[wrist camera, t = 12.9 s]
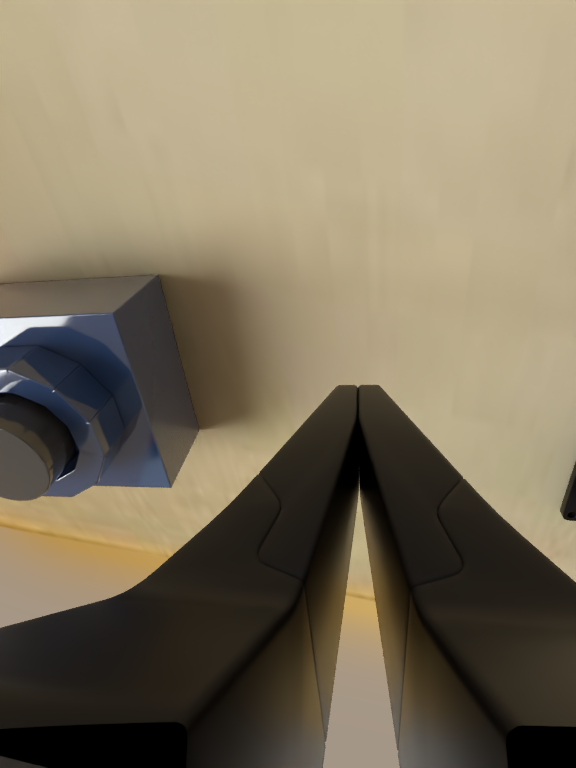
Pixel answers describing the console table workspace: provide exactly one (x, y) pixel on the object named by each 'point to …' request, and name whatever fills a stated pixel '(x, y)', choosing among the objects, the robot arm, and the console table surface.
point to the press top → (31, 448)
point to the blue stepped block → (101, 376)
